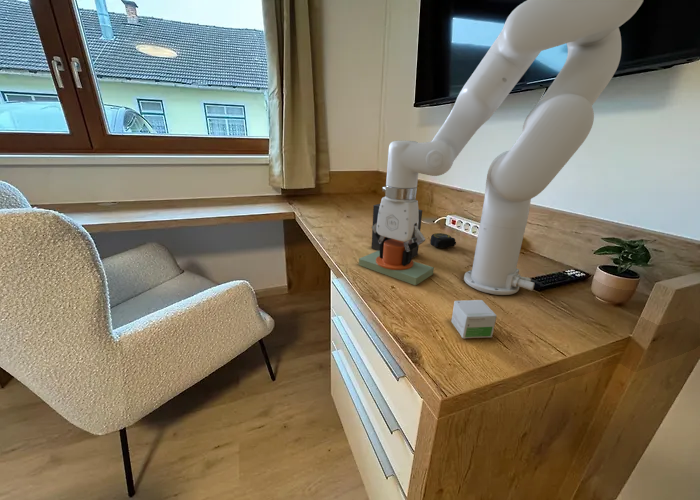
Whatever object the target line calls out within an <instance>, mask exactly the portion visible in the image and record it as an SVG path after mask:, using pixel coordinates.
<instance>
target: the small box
mask: <svg viewBox="0 0 700 500" xmlns="http://www.w3.org/2000/svg"><path fill="white" fill-rule="evenodd" d="M496 321H497V314H496V313H495V312H494V310H492V309H491V308H490V307H489V305H488V304H487V303H485V301H484V300H483V299H472V300H471V299H468V300H466V299H465V300H454V302H453V308H452V315H451V323H452V325H453V327H454V328H455V329H456V331H457V332H458V334H459V335H460V337H461V338H462V339H464V340H465V339H480V338H481V339H482V338H493V335H494V330H495V325H496Z"/></svg>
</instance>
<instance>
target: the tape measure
mask: <svg viewBox="0 0 700 500" xmlns="http://www.w3.org/2000/svg"><path fill="white" fill-rule="evenodd" d="M429 242H430V245H431V246H432V247H435V248H437V249H445V248H452V247H455V246H456V244H457V241H456V239H455V237H453V236H451V235H449V234H448V233H442V232H437V233H432V234H431V235H430V241H429Z"/></svg>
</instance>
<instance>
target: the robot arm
mask: <svg viewBox="0 0 700 500" xmlns="http://www.w3.org/2000/svg"><path fill="white" fill-rule="evenodd" d="M643 3H644V0H525V1H523V2H522V3H520V4H519V5H517V6H516V7H515V8H514V9H513V10H512V11H511V12H510V14H509V15H508V16H507V17H506V20H505V22H504V24H503V27H502V29H501V31H500V32H499V34H498V36H497V37H496V39H495V40H494V41H493V42H492V44H491V45H490V48H489V49H488V50H487V52H486V53H485V55H484V56H483V58H482V59H481V61H480V62H479V64H478V65H477V66H476V68H475V69H474V71H473V73H471V75H470V77H469V78H468V79H467V81H465V83H464V85H463V87H462V88H461V89H460V91H459V93H458V95H457V97H456V100H455V102H454V104H453V107H452V109H451V111H450V112H449V114H448V116H447V117H446V119H445V121H444V122H443V124H442V125H441V126H440V128H439V129H438V130H437V133H435V135H434V136H433V138H432V140H431V141H425V142H418V141H416V140H393V141H390V143H389V145H388V151H387V166H386V181H385V185H384V186H382V188H381V189H382V192H384V196H382V198H381V201H380V203H379V204H380V208H379V213H378V219H377V223H376V224H374V225H373V224H372V225H371V230H372V229H373V231H374V233H375V235H376V237H377V239H378V242H379V244H380V258H383V249H384V241H386V240H388V239H389V238H391V239H395V240H398V241H403V243H404V247H405V251H403V258H402V265H403V266H405V265H407V264H409V263H410V262H411V260H413V258H412V251H413V249H415V248H416V247H417V246H420V245H422V244H423V243H425V241H426V237H425V236H424V235H423V232H421V229H420V230H419V229H418V222H419V211H418V210H419V201H418V200H417V199H416V197H417V190H418V189H417V188H418V181H419V180H418V179H419V174H422V175H426V176H430V177H438V176H442V175H444V174H446V173H447V172H449V170H451V168H452V166H453V164H454V161H455V160H457V157H459V155H460V153H461V152H462V151H463V150H464V148H465V147H466V145H467V144H468V143H469V142H470V140H472V137H473V136H474V135H475V134H476V133H477V131H479V129H480V128H481V127H482V126H483V125H484V124H486V122H487V121H489V120H490V118H491V117H492V116H493V115H494V114H495V113H496V111H497V110H498V109H499V107H500V106H501V105H502V104H503V102H504V101H505V100H506V99H507V97H508V96H509V94H510V93H511V92H512V90H513V89H514V88H515V87H516V85H517V84H518V82H519V81H520V80H521V79H522V78H523V76H524V75H525V74H526V72H527V71H528V69H529V68H530V67H531V65H532V64H533V63H534V61H535V60H536V59H537V57H539V55H540V53H541V52H544V51H546V50H549V49H553V48H556V47H559V46H563V45H565V44H566V47H567V56H566V59H565V62H564V64H563V66H562V67H561V69H560V71H559V72H558V73H557V75H556V77H555V78H554V80H553V81H552V83H550V85H549V87H548V88H547V90H546V91H545V92H544V94H543V95H542V96H541V98H540V99H539V101H538V102H537V103H536V105H534V107H533V108H532V109H531V110H530V112H529V113H528V114H527V116H526V118H525V120H524V122H523V125H522V133H521V134H520V135H519V137H518V138H517V139H516V140H515V142H514V143H513V145H512V146H511V147H510V149H509V150H505V151H504V152H502V153H500V154H498V155H497V156H496V157H495V158H493V160H492V162H491V164H490V165H489V168H488V169H487V174H486V179H485V189H484V196H483V204H482V210H481V216H480V221H479V228H478V234H477V239H476V244H475V251H474V257H473V262H472V268H471V269H470V270H468V271H466V272H465V273H464V274H463V275H464V276H463V280H464V282H465V284H467V285H468V286H469V287H471V288H472V289H475V290H476V291H478V292H479V291H480V292H482V293H485V294H490V295H497V296H509V295H513V294H516V293H517V292H519V290H520V288H523V289H525V290H528V291H533V290H534V288H535V282H533V281H532V278H530V277H526V276H523V275H522V276H521V274H520V268H517V266H518V264H519V263H518V262H519V258H520V253H521V250H522V245H523V240H524V235H525V232H526V226H527V223H528V220H529V215H530V214H529V213H530V208H531V202H532V199H533V198H535V197H537V196H538V195H539V194H541V193H542V192H543V191H544V190H545V189H546V188H547V187H548V186H549V185H550V184H551V182H553V180H554V179H555V178H556V177H557V175H558V174H559V173H560V172H561V171H562V170H563V169H564V167H565V165H566V164H567V163H568V162H569V161H570V159H571V158H572V157H573V156H574V154H576V152H577V151H578V150H579V149H580V147H581V146H582V145H583V143H584V142H585V141H586V139H587V138H588V136H589V134H590V132H591V130H592V128H593V125H594V120H595V113H594V108H593V105H594V104H595V103H596V101H597V100H598V98H599V97H600V96H601V94H602V93H603V92H604V90H605V89H606V87H607V86H608V85H609V83H610V82H611V80H612V78H613V77H614V75H615V73H616V72H617V69H618V68H619V64H620V61H621V57H622V36H621V31H620V27H621V26H622V25H624V24H625V23H626V22H628V21H629V20H630V19H631V18H632V17H633V16H634V15H635V14H636V13H637V11H638V10H639V8H640V7H641V6H642V5H643ZM413 238H417V240H416V241H415V242H414V241H413Z"/></svg>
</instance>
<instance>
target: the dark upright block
mask: <svg viewBox="0 0 700 500" xmlns="http://www.w3.org/2000/svg"><path fill="white" fill-rule="evenodd" d="M380 204H381V203H378V204H374V205H373V209H372V226H373V225H374V224H376V223H377V219H378V213H379V208H380ZM418 211H419V222H418V229H419V230H420V231H421V226H422V219H423V210H422V209H418ZM371 230H372V231H371V247H370V248H371V249H373V250H376V251H380V244H379V242H378V239H377V237H376V235H375V233H374V231H373V229H372V228H371ZM388 240H391V238H389V239H388ZM416 240H417V238H413V241H414V242H415V241H416ZM419 246H420V245H419ZM419 246H417V247H416V248H415V249H413V251H412V259H413V258H415V257H418V255H419Z"/></svg>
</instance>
